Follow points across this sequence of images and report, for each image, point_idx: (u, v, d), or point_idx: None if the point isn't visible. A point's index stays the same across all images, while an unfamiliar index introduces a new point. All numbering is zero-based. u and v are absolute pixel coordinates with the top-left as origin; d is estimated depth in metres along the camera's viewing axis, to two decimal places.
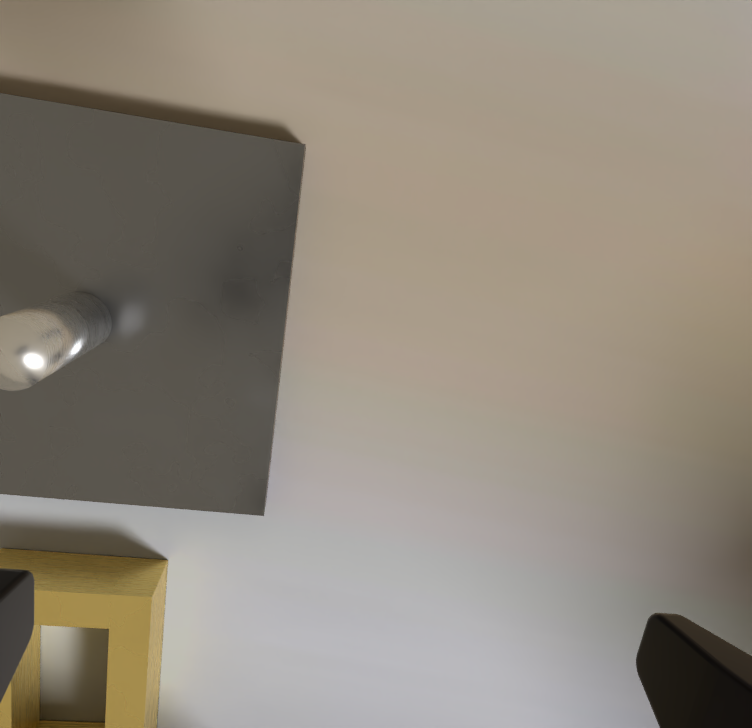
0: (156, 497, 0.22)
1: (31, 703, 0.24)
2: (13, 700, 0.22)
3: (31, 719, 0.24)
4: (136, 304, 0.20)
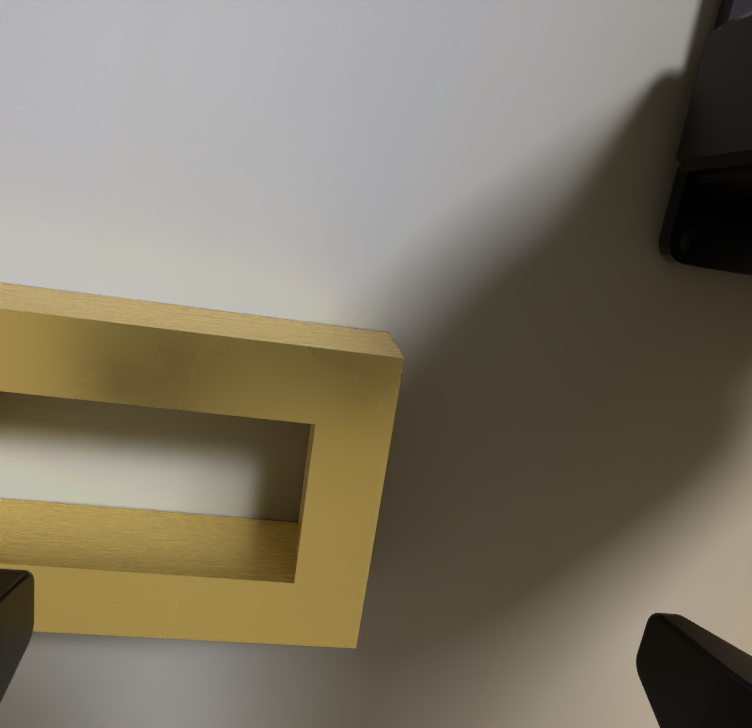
0: None
1: (222, 533, 0.13)
2: (128, 567, 0.11)
3: (260, 536, 0.13)
4: None
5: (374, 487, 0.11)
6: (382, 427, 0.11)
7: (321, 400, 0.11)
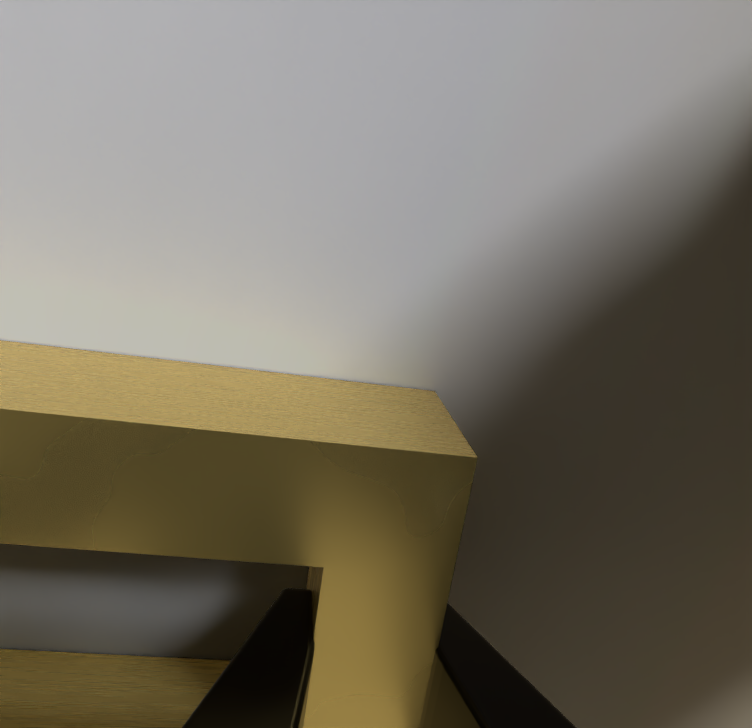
0: None
1: (180, 697, 0.09)
2: None
3: None
4: None
5: (420, 662, 0.07)
6: (436, 569, 0.07)
7: (334, 529, 0.06)
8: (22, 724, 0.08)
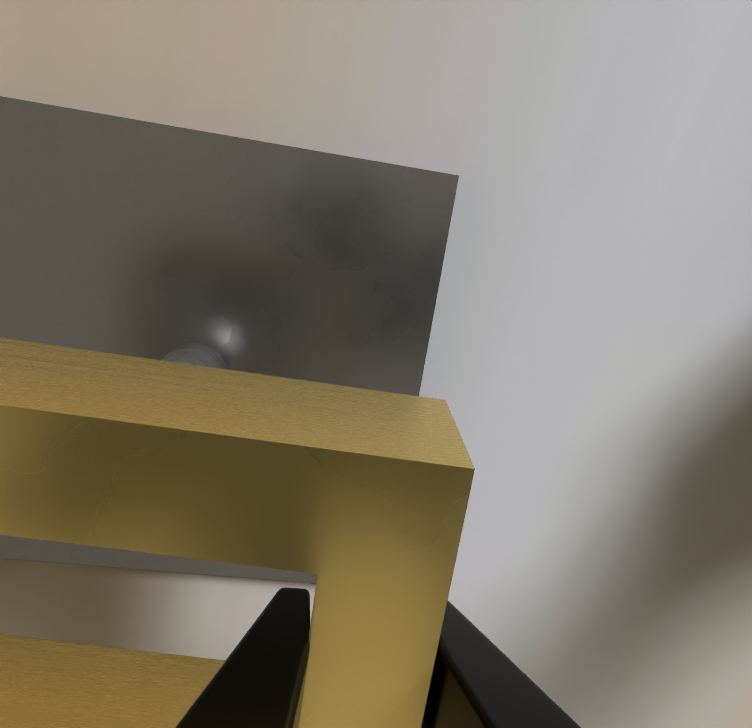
0: (421, 312, 0.18)
1: (188, 695, 0.09)
2: None
3: None
4: (170, 313, 0.17)
5: (417, 676, 0.07)
6: (432, 581, 0.06)
7: (328, 535, 0.06)
8: (35, 711, 0.08)
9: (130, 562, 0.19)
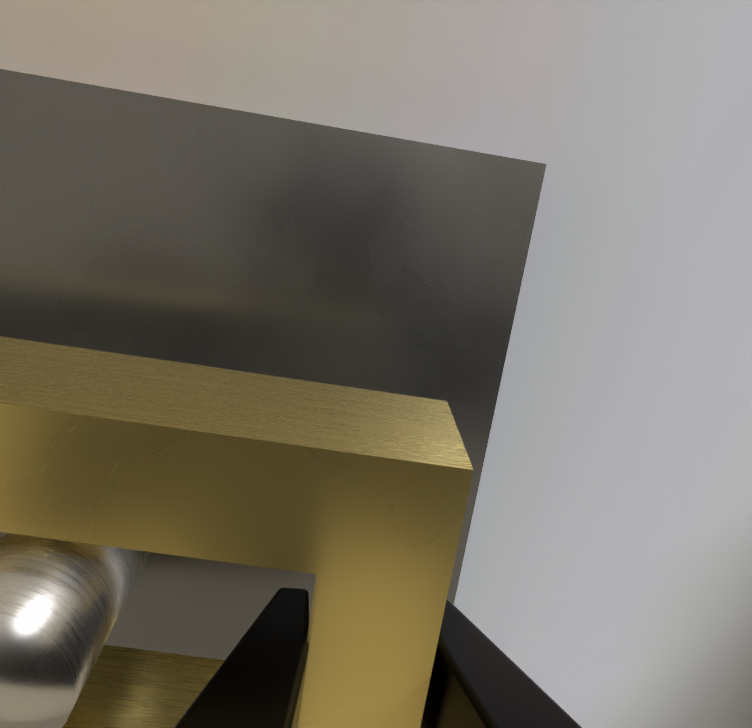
0: (481, 379, 0.11)
1: (188, 694, 0.09)
2: None
3: None
4: None
5: (415, 678, 0.07)
6: (431, 583, 0.06)
7: (326, 535, 0.06)
8: None
9: None
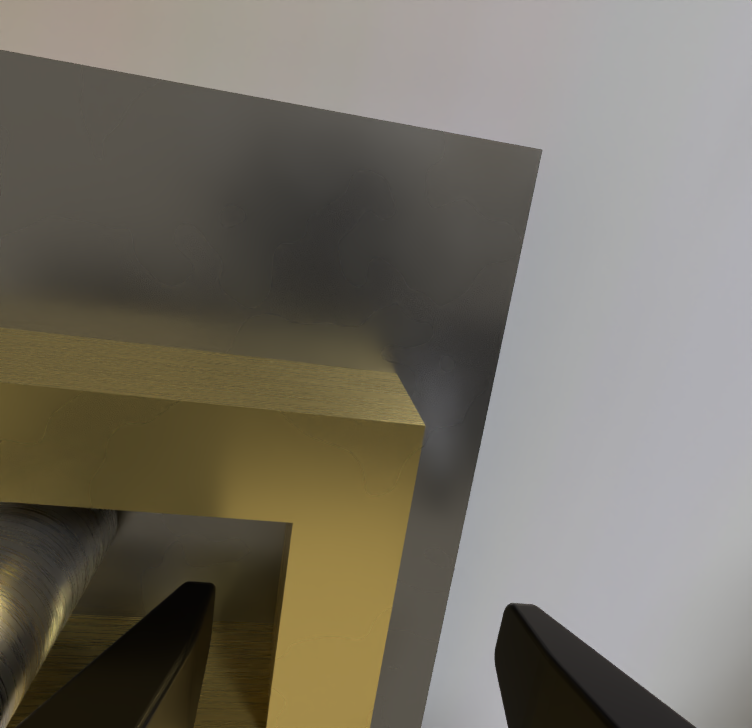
0: (467, 398, 0.10)
1: None
2: None
3: (220, 652, 0.10)
4: None
5: (379, 607, 0.08)
6: (391, 524, 0.08)
7: (301, 488, 0.07)
8: None
9: None
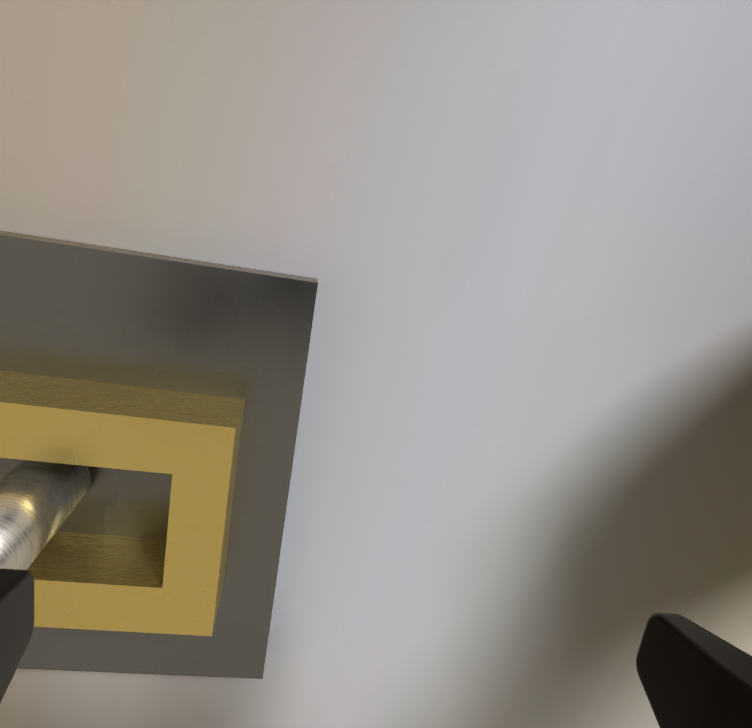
0: (286, 413, 0.18)
1: (117, 550, 0.17)
2: (38, 576, 0.16)
3: (146, 552, 0.17)
4: None
5: (218, 518, 0.16)
6: (222, 476, 0.15)
7: (175, 457, 0.15)
8: (39, 555, 0.16)
9: None
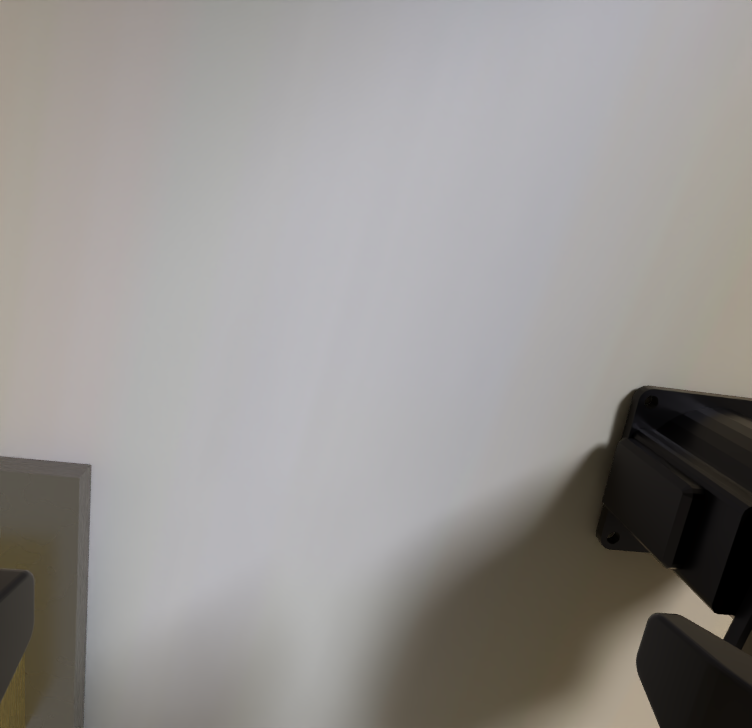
0: (64, 585, 0.20)
1: None
2: None
3: None
4: None
5: None
6: None
7: None
8: None
9: None
